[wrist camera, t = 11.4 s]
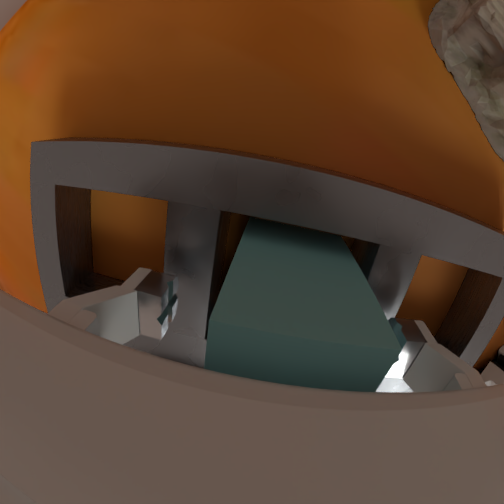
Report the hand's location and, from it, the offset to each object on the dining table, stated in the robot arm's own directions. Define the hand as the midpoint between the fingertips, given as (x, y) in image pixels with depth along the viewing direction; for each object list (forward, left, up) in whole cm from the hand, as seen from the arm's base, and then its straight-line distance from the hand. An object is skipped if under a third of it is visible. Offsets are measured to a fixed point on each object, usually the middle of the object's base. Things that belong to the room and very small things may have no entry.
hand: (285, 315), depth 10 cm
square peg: (0, 0, -4) cm, 4 cm away
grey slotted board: (0, 0, -4) cm, 4 cm away
